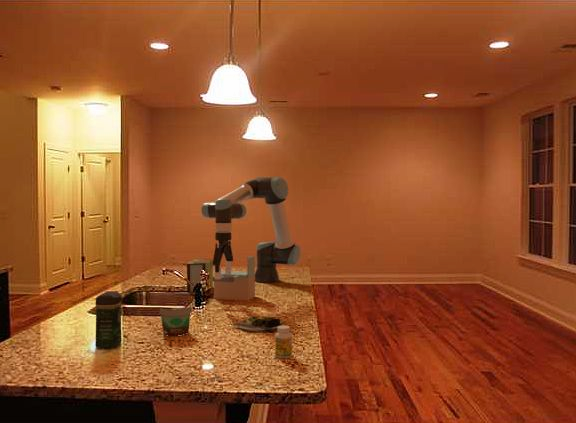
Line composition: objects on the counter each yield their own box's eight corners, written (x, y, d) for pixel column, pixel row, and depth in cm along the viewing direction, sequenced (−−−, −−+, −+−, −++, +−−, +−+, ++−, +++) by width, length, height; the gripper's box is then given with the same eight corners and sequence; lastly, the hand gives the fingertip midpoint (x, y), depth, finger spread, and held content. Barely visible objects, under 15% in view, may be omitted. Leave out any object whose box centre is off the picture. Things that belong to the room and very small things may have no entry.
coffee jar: (117, 349, 169) (116, 294, 168) (92, 350, 168) (92, 295, 167) (124, 341, 178) (123, 289, 178) (101, 341, 178) (101, 289, 177)
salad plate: (230, 333, 189) (230, 321, 189) (235, 321, 207) (235, 310, 207) (281, 334, 189) (281, 322, 189) (282, 322, 207) (282, 311, 207)
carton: (221, 294, 260) (221, 254, 259) (254, 296, 256) (254, 255, 255) (213, 298, 250) (213, 256, 249) (248, 300, 245) (248, 257, 245)
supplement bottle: (294, 354, 164) (294, 325, 164) (288, 359, 159) (288, 329, 159) (278, 352, 166) (279, 324, 166) (272, 357, 161) (272, 328, 161)
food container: (163, 339, 181) (163, 311, 181) (159, 334, 187) (159, 308, 186) (196, 334, 187) (196, 308, 186) (191, 330, 192) (191, 304, 192)
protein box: (213, 287, 280) (213, 259, 279) (205, 292, 264) (205, 263, 264) (194, 286, 281) (194, 259, 280) (186, 292, 266) (186, 263, 265)
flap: (223, 274, 259) (223, 269, 259) (252, 275, 255) (252, 270, 255) (206, 281, 238) (206, 276, 238) (238, 283, 234) (238, 277, 234)
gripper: (225, 230, 249) (225, 272, 250) (205, 233, 225) (205, 280, 226) (239, 230, 247) (239, 273, 248) (221, 234, 223) (220, 281, 224)
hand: (223, 277), depth 237 cm, fingers open, 13 cm apart
